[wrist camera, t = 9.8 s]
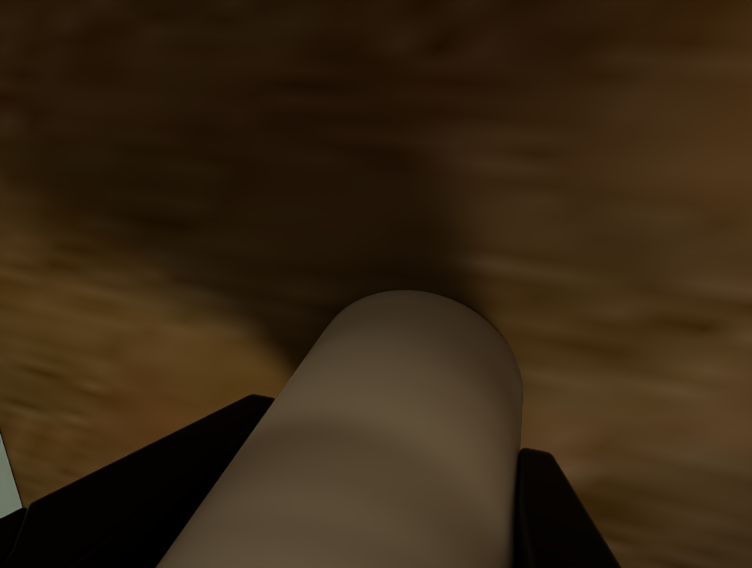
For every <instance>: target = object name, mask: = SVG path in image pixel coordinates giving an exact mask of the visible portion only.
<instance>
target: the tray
mask: <svg viewBox="0 0 752 568" xmlns="http://www.w3.org/2000/svg"><path fill="white" fill-rule="evenodd" d="M20 508H22V505H21V501H20V498H19V495H18V491H17V488H16V485H15V481H14V478H13V475H12V471H11V468H10V465H9V461H8V458H7V455H6V451H5V448H4V445H3V441H2V438H1V435H0V518H2V517H4V516H6V515H8V514H10V513H12V512H14V511H16V510H18V509H20Z"/></svg>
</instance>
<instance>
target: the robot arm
mask: <svg viewBox="0 0 752 568" xmlns="http://www.w3.org/2000/svg"><path fill="white" fill-rule="evenodd" d="M274 400H275V398H271V397H266V396H261V395H256V394H252V395H249V396H246V397H244V398H242V399H240V400H238V401H236V402H234V403H232V404H230V405H228V406H226V407H224V408H222V409H220V410H218V411H216V412H214V413H212V414H210V415H208V416H206V417H204V418H202V419H200V420H198V421H196V422H194V423H192V424H190V425H188V426H186V427H184V428H182V429H180V430H178V431H176V432H174V433H172V434H170V435H168V436H166V437H164V438H162V439H160V440H158V441H156V442H154V443H152V444H150V445H147V446H145V447H143V448H141V449H139V450H137V451H135V452H133V453H131V454H129V455H127V456H125V457H123V458H121V459H119V460H117V461H115V462H113V463H111V464H109V465H107V466H105V467H103V468H101V469H99V470H97V471H95V472H93V473H91V474H89V475H87V476H85V477H83V478H81V479H79V480H77V481H75V482H73V483H71V484H69V485H67V486H65V487H63V488H61V489H59V490H57V491H55V492H53V493H50V494H48V495H46V496H44V497H42V498H40V499H38V500H36V501H34V502H32V503H31V504H29V506H28V508H25V507H22V508H20V509H18V510H16V511H14V512H12V513H10V514H8V515H6V516H4V517H2V518H0V568H156V567H157V565H158V564H159V562H160V561H161V559H162V558H163V557H164V555H165V554H166V552H167V551H168V550H169V548H170V547H171V545H172V544H173V543H174V541H175V540H176V538H177V537H178V536H179V534H180V533H181V531H182V530H183V529H184V527H185V526H186V524H187V523H188V521H189V520H190V519H191V517H192V516H193V514H194V513H195V512H196V510H197V509H198V507H199V506H200V505H201V503H202V502H203V500H204V499H205V498H206V496H207V495H208V493H209V492H210V491H211V489H212V488H213V486H214V485H215V483H216V482H217V481H218V479H219V478H220V476H221V475H222V474H223V472H224V471H225V469H226V468H227V467H228V465H229V464H230V462H231V461H232V460H233V458H234V457H235V455H236V454H237V453H238V451H239V450H240V448H241V447H242V446H243V444H244V443H245V441H246V440H247V438H248V437H249V436H250V434H251V433H252V431H253V430H254V429H255V427H256V426H257V424H258V423H259V422H260V420H261V419H262V417H263V416H264V415H265V413H266V412H267V410H268V409H269V408H270V406H271V405H272V403H273V402H274ZM514 568H621V566H620V565H619V563H618V561H617V560H616V558H615V556H614V555H613V553H612V552H611V550H610V548H609V547H608V545H607V543H606V542H605V540H604V538H603V537H602V535H601V534H600V532H599V530H598V529H597V527H596V525H595V524H594V522H593V520H592V519H591V517H590V516H589V514H588V512H587V511H586V509H585V507H584V506H583V504H582V502H581V501H580V499H579V498H578V496H577V494H576V493H575V491H574V489H573V488H572V486H571V484H570V483H569V481H568V480H567V478H566V476H565V475H564V473H563V471H562V470H561V468H560V466H559V465H558V463H557V462H556V460H555V458H554V457H553V455H552V454H550V453H548V452H545V451H540V450H535V449H530V448H523V449H521V451H520V453H519V465H518V483H517V502H516V520H515V554H514Z"/></svg>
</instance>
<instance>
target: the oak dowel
mask: <svg viewBox="0 0 752 568" xmlns="http://www.w3.org/2000/svg"><path fill="white" fill-rule="evenodd" d="M522 403H523V386H522V378H521V374H520V370H519V367H518V364H517V362H516V359H515V356H514V355H513V353H512V351H511V349H510V348H509V346H508V344H507V343H506V341H505V340H504V339H503V337H502V336H501V335H500V333H499V332H498V331H497V330H496V329H495V328H494V327H493V326H492V325H491V324H490V323H489V322H488V321H486V320H485V319H484V318H483V317H481V316H480V315H479V314H478V313H476V312H474V311H473V310H471V309H470V308H468V307H466V306H465V305H463V304H461V303H458V302H456V301H454V300H452V299H450V298H447V297H443V296H440V295H437V294H433V293H428V292H424V291H415V290H392V291H386V292H380V293H376V294H373V295H370V296H366V297H364V298H362V299H360V300H358V301H355V302H354V303H352V304H351V305H349V306H347V307H346V308H344V309H343V310H342V311H341V312H340V313H339V314H338V315H336V316H335V317H334V319H333V320H332V321H331V322H330V323H329V325H328V326H327V327H326V329H325V330H324V332H323V333H322V334H321V336H320V337H319V339H318V340H317V341H316V343H315V344H314V346H313V347H312V348H311V350H310V351H309V353H308V354H307V355H306V357H305V358H304V360H303V361H302V362H301V364H300V365H299V367H298V368H297V370H296V371H295V372H294V374H293V375H292V377H291V378H290V379H289V381H288V382H287V384H286V385H285V386H284V388H283V389H282V391H281V392H280V393H279V395H278V396H277V398H276V399H275V400H274V402H273V403H272V405H271V406H270V408H269V409H268V410H267V412H266V413H265V415H264V416H263V417H262V419H261V420H260V422H259V423H258V424H257V426H256V427H255V429H254V430H253V431H252V433H251V434H250V436H249V437H248V438H247V440H246V441H245V443H244V444H243V446H242V447H241V448H240V450H239V451H238V453H237V454H236V455H235V457H234V458H233V460H232V461H231V462H230V464H229V465H228V467H227V468H226V469H225V471H224V472H223V474H222V475H221V476H220V478H219V479H218V481H217V482H216V483H215V485H214V486H213V488H212V489H211V491H210V492H209V493H208V495H207V496H206V498H205V499H204V500H203V502H202V503H201V505H200V506H199V507H198V509H197V510H196V512H195V513H194V514H193V516H192V517H191V519H190V520H189V521H188V523H187V524H186V526H185V527H184V529H183V530H182V531H181V533H180V534H179V536H178V537H177V538H176V540H175V541H174V543H173V544H172V545H171V547H170V548H169V550H168V551H167V552H166V554H165V555H164V557H163V558H162V559H161V561H160V562H159V564H158V565H157V567H156V568H514V554H515V520H516V502H517V483H518V465H519V453H520V441H521V422H522Z"/></svg>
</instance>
